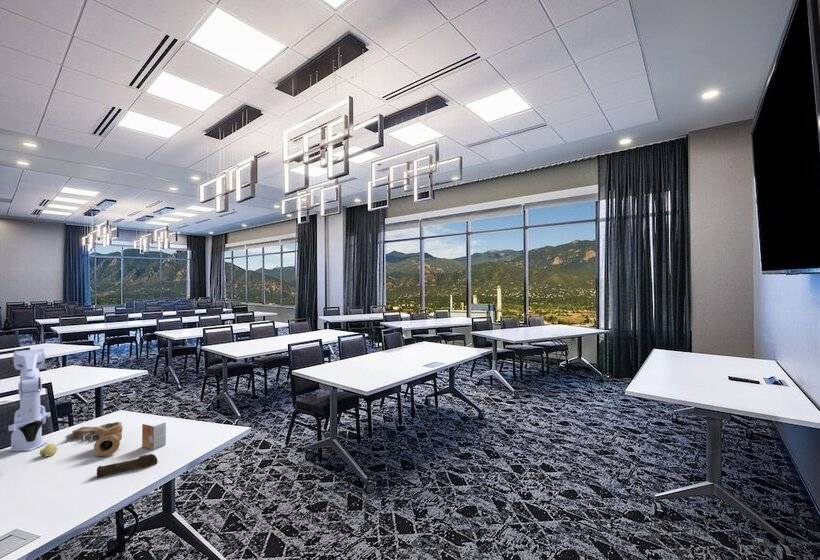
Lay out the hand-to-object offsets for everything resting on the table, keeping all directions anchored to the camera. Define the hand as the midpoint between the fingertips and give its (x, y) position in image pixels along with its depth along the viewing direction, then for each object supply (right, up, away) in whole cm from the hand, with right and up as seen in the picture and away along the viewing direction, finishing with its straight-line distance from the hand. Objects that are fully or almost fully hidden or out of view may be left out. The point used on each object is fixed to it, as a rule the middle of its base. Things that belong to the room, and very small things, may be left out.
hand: (30, 441), depth 147 cm
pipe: (+22, -10, +12) cm, 27 cm away
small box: (+40, -9, +15) cm, 44 cm away
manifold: (+4, -9, +24) cm, 26 cm away
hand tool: (+44, -10, -5) cm, 45 cm away
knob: (0, -10, +7) cm, 12 cm away
